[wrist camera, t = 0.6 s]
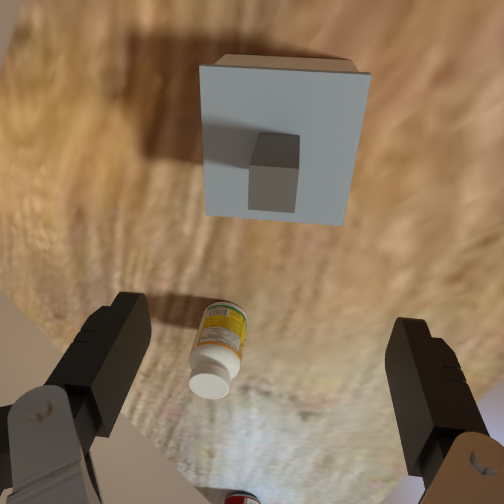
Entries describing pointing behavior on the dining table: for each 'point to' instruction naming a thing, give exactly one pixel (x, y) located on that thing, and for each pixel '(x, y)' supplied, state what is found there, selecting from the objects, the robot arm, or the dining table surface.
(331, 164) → the lid
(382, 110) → the dining table surface
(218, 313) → the supplement bottle
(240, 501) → the soda can
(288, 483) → the dining table surface
